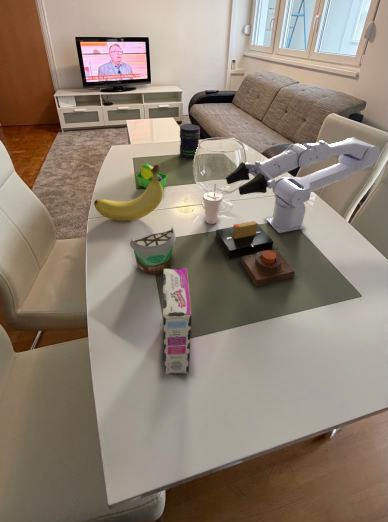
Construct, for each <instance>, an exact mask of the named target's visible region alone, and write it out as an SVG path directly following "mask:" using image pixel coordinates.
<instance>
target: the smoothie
mask: <svg viewBox="0 0 388 522" xmlns="http://www.w3.org/2000/svg"><path fill="white" fill-rule="evenodd" d="M202 200H203V204H204V205H203V206H204V215H205V222H206V224H210V225H213V224H216V223H217V222H218V217H219V213H220V209H221V204H222V201H223V194H222V193H221V192H218V191H217V184H216V183H214V184H213V190H212V191H210V190H209V191H205V193H203V194H202Z"/></svg>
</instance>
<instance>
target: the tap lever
mask: <svg viewBox="0 0 388 522" xmlns="http://www.w3.org/2000/svg"><path fill="white" fill-rule="evenodd" d="M257 223H258V222H257V221H255V220H253V221H248V222H242V223H234V224H233V226H232V227H233V237H234V239H237V238H242V237H247V236H252V235H256V230H257Z"/></svg>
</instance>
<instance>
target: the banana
mask: <svg viewBox="0 0 388 522" xmlns="http://www.w3.org/2000/svg"><path fill="white" fill-rule="evenodd" d="M152 167H153V169H151V170H150V171H151V172H152V174H153V177H152V181H151V183H150V184H149V186H148V187H147V188H145V190H144V191H143V193H142V194H141V195H139V196H138V197H136V198H134V199H132V200H127V201H115V200H109V199H100V198H99V199H95V200H94V202H93V205H94V207H95V210H96V211H97V213H99V214H100V215H101V216H103V217H104V218H107V219H111V220H113V221H134V220H138V219H142V218H144V217H145V216H148V215H149V214H150V213H152V212H153V211H155V210H156V209H157V208H158V206H159V205H160V204H161V202H162V200H163V195H164V189H163V188H162V186H161V184H160V183H159V181H158V179H157V173H160V165H159V164H154V165H153V166H152Z"/></svg>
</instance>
